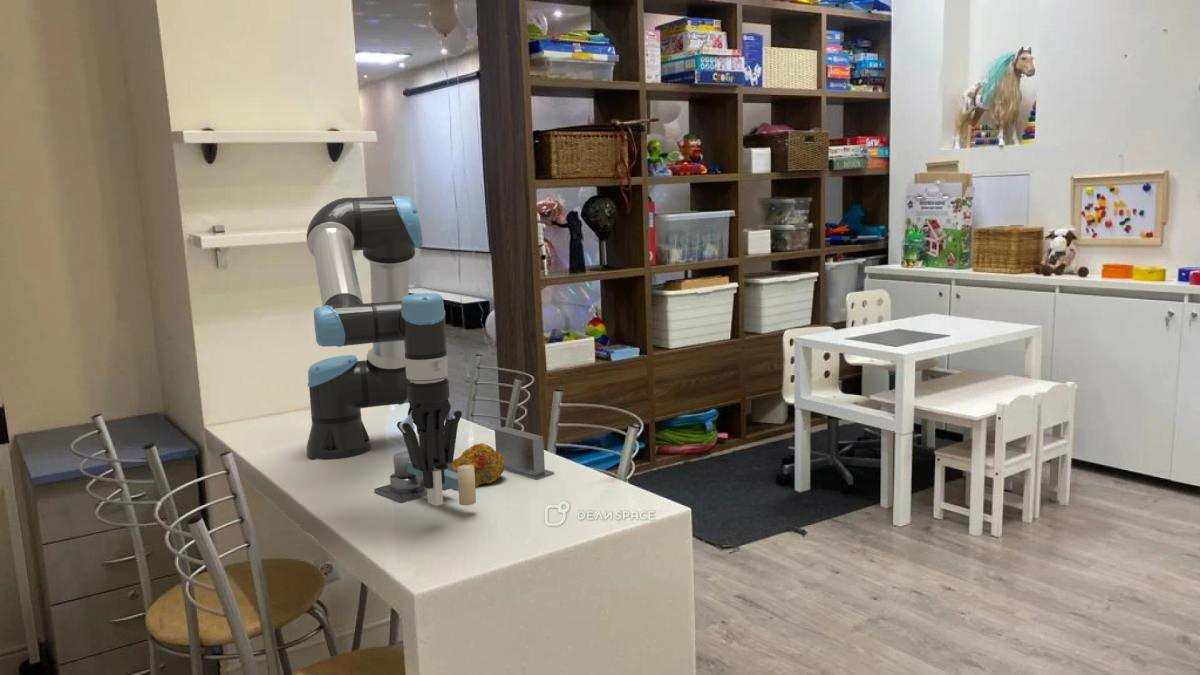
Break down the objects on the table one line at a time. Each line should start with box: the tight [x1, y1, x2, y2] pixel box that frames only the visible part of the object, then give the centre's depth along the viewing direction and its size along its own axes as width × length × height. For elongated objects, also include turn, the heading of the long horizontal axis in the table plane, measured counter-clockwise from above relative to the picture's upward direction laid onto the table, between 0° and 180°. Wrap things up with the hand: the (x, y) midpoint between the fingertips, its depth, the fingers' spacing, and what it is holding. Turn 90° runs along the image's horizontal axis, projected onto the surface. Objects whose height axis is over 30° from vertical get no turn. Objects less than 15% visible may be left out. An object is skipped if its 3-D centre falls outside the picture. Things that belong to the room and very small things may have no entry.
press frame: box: [373, 426, 555, 504], centre depth 188 cm, size 21×32×9 cm, turn 135°
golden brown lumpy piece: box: [453, 442, 505, 488], centre depth 189 cm, size 11×8×10 cm
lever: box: [392, 450, 477, 506], centre depth 177 cm, size 25×6×7 cm, turn 45°
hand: (435, 503), depth 165 cm, fingers closed
